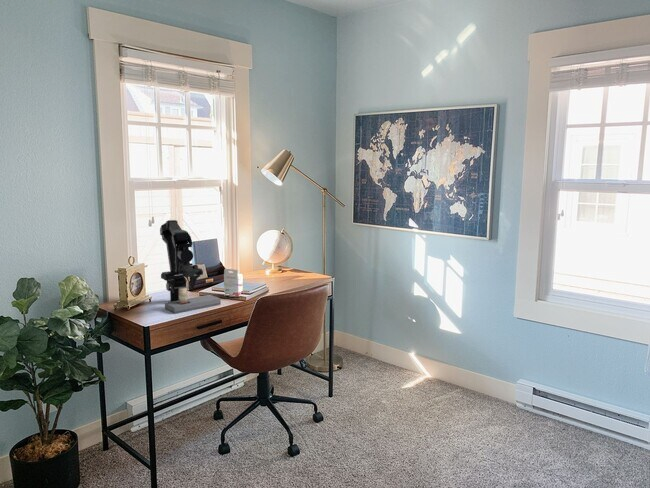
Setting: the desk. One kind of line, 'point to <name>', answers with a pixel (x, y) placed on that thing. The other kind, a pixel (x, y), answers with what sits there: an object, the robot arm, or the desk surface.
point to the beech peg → (183, 295)
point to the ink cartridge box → (233, 282)
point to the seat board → (193, 304)
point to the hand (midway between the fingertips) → (183, 291)
